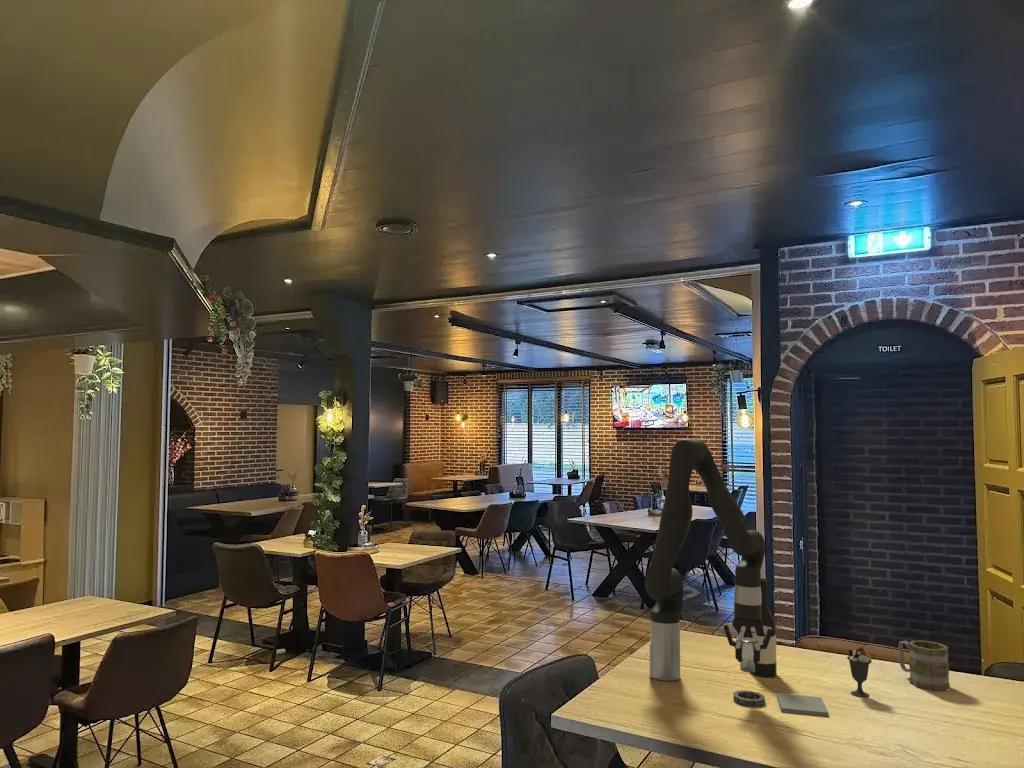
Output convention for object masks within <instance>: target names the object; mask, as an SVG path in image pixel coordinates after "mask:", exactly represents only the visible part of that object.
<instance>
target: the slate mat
mask: <svg viewBox="0 0 1024 768" xmlns="http://www.w3.org/2000/svg"><path fill="white" fill-rule="evenodd" d="M776 698H777V702H778V703H777V704H778V706H779V709H780V711H781V713H791V714H803V715H810V716H811V715H812V716H820V717H829V710H828V708H827V706H826V704H825V702H824V701H823V698H822V697H821V696H810V695H799V694H792V693H791V694H790V693H780V692H779V693H778V692H776Z"/></svg>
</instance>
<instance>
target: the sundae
mask: <svg viewBox="0 0 1024 768" xmlns="http://www.w3.org/2000/svg"><path fill="white" fill-rule="evenodd" d="M865 646H868V644H867V643H864V644H863V645H861V647H858V648H856V649H854V650H851V649H848V653H849V655H848V656H846V659H847V660H848V662H849V666H850V667H849V668H850V672H851V673H850V674H851V678H852V679H853V680H855V681H856V682H857V689H856V690H852V691H850V694H851V695H852V696H854V697H858V698H869V697H870V694H869V693H868V692H865V691H864V690H863V683H864V682H866V681H867V679H868V675H869V669H870V668H869V665H870V664H872V658H869V656H868V655H867V651H866V650H864V648H865Z"/></svg>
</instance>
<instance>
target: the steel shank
mask: <svg viewBox="0 0 1024 768" xmlns="http://www.w3.org/2000/svg"><path fill="white" fill-rule="evenodd" d="M740 649H741V662H739V670H740V671H741V672H744V673H750V672H755V643H754V641H752V640H749V639H746V638H745V639H744V638H743V639H742V642H741V646H740Z"/></svg>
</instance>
